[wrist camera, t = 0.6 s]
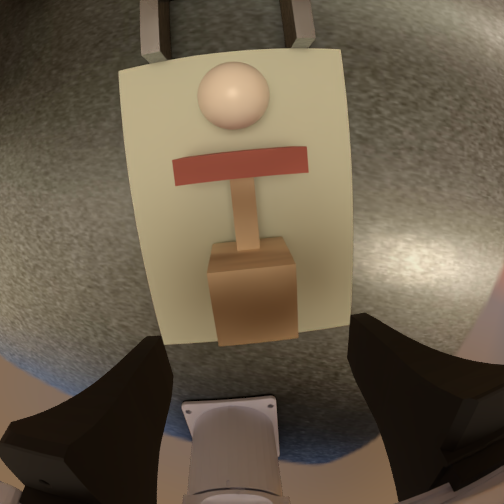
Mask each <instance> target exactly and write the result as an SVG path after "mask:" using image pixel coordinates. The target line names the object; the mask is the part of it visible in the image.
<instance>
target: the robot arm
mask: <svg viewBox="0 0 504 504" xmlns="http://www.w3.org/2000/svg"><path fill="white" fill-rule="evenodd" d="M347 358H348V361H349V364H350V367H351V370H352V373H353V376H354V378H355V380H356V382H357V384H358V386H359V388H360V390H361V392H362V394H363V396H364V398H365V400H366V402H367V404H368V406H369V408H370V410H371V412H372V414H373V416H374V418H375V421H376V423H377V425H378V428H379V430H380V433H381V436H382V439H383V442H384V445H385V449H386V452H387V455H388V459H389V462H390V466H391V470H392V474H393V478H394V482H395V486H396V491H397V496H398V501H399V502H398V503H395V504H504V365H499V364H489V363H483V362H476V361H472V360H466V359H463V358H459V357H456V356H452V355H449V354H446V353H443V352H440V351H438V350H435V349H432V348H430V347H428V346H425V345H423V344H421V343H419V342H417V341H415V340H413V339H411V338H409V337H407V336H405V335H403V334H401V333H400V332H398V331H396V330H394V329H393V328H391V327H389V326H388V325H386V324H384V323H382V322H381V321H379V320H377V319H376V318H374V317H372V316H370V315H369V314H367V313H360V314H354V315H350V327H349V342H348V355H347ZM172 387H173V373H172V370H171V367H170V363H169V360H168V357H167V353H166V350H165V346H164V343H163V339H162V336H147V337H145V338H144V339H143V340H142V341H141V342H140V343H139V344H138V345H137V346H136V347H135V348H134V349H132V350H131V351H130V352H129V353H128V354H127V355H126V356H125V357H124V358H123V359H122V360H121V361H120V362H119V363H118V364H117V365H115V366H114V367H113V368H112V369H111V370H110V371H108V372H107V373H106V374H105V375H104V376H103V377H101V378H100V379H99V380H98V381H96V382H95V383H94V384H92V385H91V386H89V387H88V388H86V389H85V390H84V391H82V392H81V393H79V394H77V395H76V396H74V397H72V398H70V399H69V400H67V401H65V402H63V403H61V404H59V405H57V406H55V407H53V408H51V409H49V410H46V411H44V412H41V413H39V414H36V415H33V416H30V417H27V418H24V419H20V420H17V421H13V422H11V423H10V425H9V426H8V428H7V430H6V431H5V434H4V435H3V437H2V438H1V440H0V458H1V459H2V461H3V462H4V463H5V465H6V466H7V467H8V468H9V469H10V470H11V471H12V472H13V473H14V475H15V476H16V477H17V478H18V479H19V480H20V481H21V482H22V483H23V484H24V485H25V488H24V490H23V492H22V491H20V490H19V489H17V488H15V487H13V486H11V485H8V484H6V483H4V482H1V481H0V504H157V475H158V474H157V473H158V461H159V451H160V445H161V440H162V436H163V432H164V427H165V423H166V419H167V415H168V411H169V406H170V402H171V397H172ZM270 404H272V405H270ZM182 410H183V413H184V416H185V419H186V422H187V424H188V427H189V430H190V433H191V435H192V438H193V439H192V449H191V459H190V469H189V480H188V492H187V495H183V504H290V498H289V497H283V492H282V485H281V478H280V471H279V464H278V457H279V456H280V451H279V436H278V421H277V407H276V398H275V397H274V396H262V397H252V398H241V399H228V400H212V401H190V402H183V403H182ZM188 410H190V411H188Z"/></svg>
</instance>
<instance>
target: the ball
mask: <svg viewBox="0 0 504 504" xmlns="http://www.w3.org/2000/svg"><path fill="white" fill-rule="evenodd" d="M269 98H270V92H269V87H268V84H267V81H266V79H265V78H264V76H263V75H262V74H261V73H260V72H259V71H258V70H257V69H256V68H254V67H253V66H251V65H249V64H246V63H242V62H225V63H222V64H219V65H217V66H215V67H214V68H212V69H211V70H209V71H208V72H207V73H206V74H205V76H204V77H203V79H202V80H201V82H200V85H199V87H198V93H197V100H198V105H199V108H200V110H201V112H202V114H203V115H204V117H205V118H206V119H207V120H208V121H209V122H211V123H212V124H214V125H216V126H218V127H220V128H223V129H229V130H237V129H243V128H246V127H248V126H251V125H252V124H254V123H255V122H257V121H258V120H259V119H260V118H261V117H262V116H263V114H264V113H265V111H266V109H267V107H268V103H269Z"/></svg>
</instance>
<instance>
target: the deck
mask: <svg viewBox="0 0 504 504" xmlns="http://www.w3.org/2000/svg"><path fill="white" fill-rule="evenodd" d="M225 62H242V63H246V64H249V65H251V66H253V67H254V68H256V69H257V70H258V71H259V72H260V73H261V74H262V75H263V76H264V78H265V79H266V81H267V84H268V87H269V92H270V98H269V103H268V107H267V109H266V111H265V113H264V114H263V116H262V117H261V118H260V119H259V120H258V121H257V122H255V123H254V124H252V125H251V126H248V127H246V128H243V129H237V130H229V129H223V128H220V127H218V126H216V125H214V124H212V123H211V122H209V121H208V120H207V119H206V118H205V117H204V115H203V114H202V112H201V110H200V108H199V105H198V100H197V93H198V87H199V85H200V82H201V80H202V79H203V77H204V76H205V74H206V73H207V72H208V71H209V70H211V69H212V68H214V67H215V66H217V65H219V64H222V63H225ZM119 87H120V101H121V113H122V124H123V134H124V143H125V152H126V160H127V167H128V175H129V182H130V188H131V195H132V201H133V207H134V213H135V219H136V225H137V230H138V235H139V241H140V246H141V251H142V256H143V260H144V265H145V270H146V274H147V279H148V283H149V288H150V292H151V296H152V300H153V304H154V308H155V312H156V316H157V320H158V324H159V328H160V332H161V335H162V339H163V343H164V345H166V344H184V343H199V342H212V341H218V339H217V333H216V327H215V322H214V316H213V310H212V304H211V298H210V292H209V286H208V279H207V269H208V264H209V260H210V255H211V250H212V245H213V244H216V243H225V242H235V241H236V234H235V225H234V216H233V207H232V198H231V188H230V180H221V181H213V182H204V183H196V184H188V185H181V186H175V180H174V172H173V164H172V160H174V159H178V158H182V157H188V156H196V155H204V154H212V153H220V152H229V151H239V150H249V149H260V148H273V147H287V146H307V156H308V170H309V173H298V174H284V175H272V176H261V177H254V185H255V196H256V207H257V218H258V229H259V239H264V238H274V237H283V239H284V241H285V243H286V245H287V247H288V249H289V251H290V253H291V255H292V257H293V259H294V261H295V263H296V278H297V304H298V332H305V331H313V330H320V329H326V328H333V327H339V326H346V325H350V315H351V298H352V270H353V196H352V169H351V150H350V135H349V122H348V110H347V100H346V90H345V81H344V73H343V65H342V58H341V50H340V49H314V48H287V49H260V50H244V51H233V52H223V53H214V54H206V55H198V56H191V57H185V58H179V59H173V60H167V61H162V62H157V63H152V64H147V65H143V66H138V67H134V68H129V69H125V70H121V71H119Z"/></svg>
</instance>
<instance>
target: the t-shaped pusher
mask: <svg viewBox="0 0 504 504" xmlns="http://www.w3.org/2000/svg"><path fill="white" fill-rule="evenodd" d="M172 164H173V172H174V180H175V186H181V185H188V184H196V183H204V182H213V181H221V180H230V188H231V198H232V207H233V216H234V225H235V234H236V241H235V242H225V243H216V244H213V245H212V250H211V255H210V260H209V264H208V269H207V279H208V286H209V292H210V298H211V304H212V310H213V316H214V322H215V327H216V333H217V339H218V344H219V346H230V345H241V344H251V343H261V342H270V341H278V340H286V339H294V338H298V304H297V278H296V263H295V261H294V259H293V257H292V255H291V253H290V251H289V249H288V247H287V245H286V243H285V241H284V239H283V237H274V238H264V239H259V229H258V218H257V207H256V196H255V185H254V177H261V176H272V175H284V174H298V173H309V170H308V156H307V146H287V147H273V148H260V149H249V150H239V151H229V152H220V153H212V154H204V155H196V156H188V157H182V158H178V159H174V160H172Z"/></svg>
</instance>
